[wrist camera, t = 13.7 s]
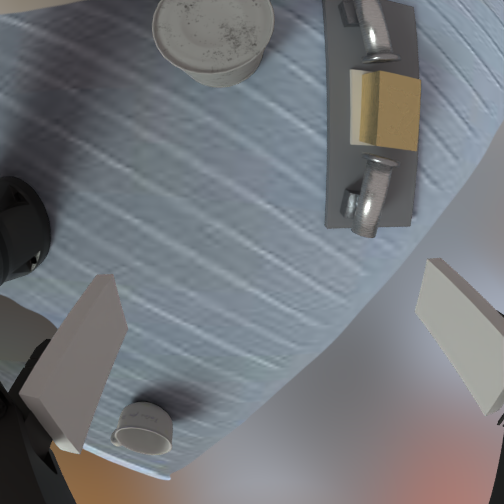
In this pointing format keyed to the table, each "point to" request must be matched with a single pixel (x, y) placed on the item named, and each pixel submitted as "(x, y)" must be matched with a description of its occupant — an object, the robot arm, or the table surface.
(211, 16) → the speckled tin can
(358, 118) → the off-white flat plate
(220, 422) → the table surface
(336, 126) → the board
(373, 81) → the coupler
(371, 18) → the shaft
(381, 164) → the shaft
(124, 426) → the teacup
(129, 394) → the table surface
